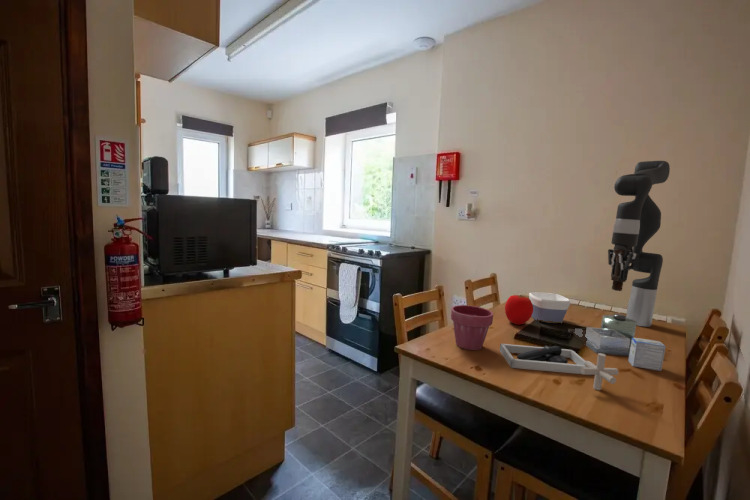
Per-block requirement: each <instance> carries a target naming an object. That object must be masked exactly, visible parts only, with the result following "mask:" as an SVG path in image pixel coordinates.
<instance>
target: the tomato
mask: <svg viewBox="0 0 750 500" xmlns="http://www.w3.org/2000/svg"><path fill="white" fill-rule="evenodd" d="M504 312H505V316H506V318H507V320H508V322H511V323H512V324H514V325H518V326H520V325H523V324H526V323H527V322H528V321H529V320H530V319H531V318H532V314H533V304H532V302H531V300H530V298H528V297H527V296H525V295H522V294H520V295H517V294H513V295H510V296H509V297H508V298H507V300H506V302H505V305H504Z"/></svg>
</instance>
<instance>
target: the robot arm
mask: <svg viewBox="0 0 750 500" xmlns="http://www.w3.org/2000/svg"><path fill="white" fill-rule="evenodd" d="M669 176H670V164H669V162H668V161H665V160H651V161H650V160H647V161H646V160H645V161H639V162H637V163H636V164H635V167H634V173H629V174H623V175H621V176H620V177H618V178H617V179H616V181H615V183H614V192H615V193H616V194H617V195H619V196H625V197H628V196H629V197H634V199H633V200H631V201H627V202H621V203H618V205H617V211H616V214H615V215H616V216H615V220H614V225H613V230H612V235H611V236H612V238H611V244H612V245H614V247H613V249H612V248H609V249H608V250H607V253H608V254H607V260H608V262H607V263H608V265H609V266H610V267H611V272H610V278H611V277H612V275H614V273H615V265H616V255H617V254H616V253H614V250H615V249H620V250H624V254H621V252H620V254H618V255H619V263H620V264H621V270H620V276H619V280H623V281H627V279H628V274H629V271H631V270H633V271H634V272H638V273H645V274H649V276H647V277H643V278H637V279H636V278H635V279H633V281H632V283H631V290H630V297H629V300H628V303H627V307H626V315H625V316H626V318H629V319H631V320H634V321H636V322H637V323H636V326H638V327H645V328H650V327H652V323H653V318H654V310H655V305H656V298H657V292H658V286H659V281H660V276H661V271H662V267H663V263H664V262H663V261H664V258H663V255H662V254H661V253H660V254H659V253H652V252H645V251H644V250H643V248H644V246H645V245H646V244H647V242H648V241H649V240H650V239H651V238H652V237H654V236H655V234H656V233H657V232H658V231H659V230H660V228H661V224H662V212H661V209H660V207H659V206H658V204H657V203H655V201H654V200H653V199H652V198H651V196H650V194H649V193H650V191H651V189H652V188H653V186H654V185H658V184H664V183H665V182H666V181H668V178H669ZM624 264H625V266H624Z"/></svg>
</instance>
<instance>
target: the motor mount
mask: <svg viewBox="0 0 750 500" xmlns="http://www.w3.org/2000/svg"><path fill="white" fill-rule="evenodd" d="M636 323H637V322H636V321H634V320H631V319H629V318H626V315H623V314H619V313H614V314H604V315H602V318H601V325H600V327H592V326H591V327H589V326H587V327H586V334H585V337H586V338H587V341H586V345H585V346H586V347H588V348H589V349H590V350H591V351H592V352H594V353H595V354H598V353H602V354H605V355H612V356H613V355H615V356H625V357H627V356H628V357H629V353H630V347H631V341H632V338H635V334H636V330H637V329H636V328H637V325H636ZM574 328H575V327H574ZM582 329H583V328H575V332H574V333H575V334H576V335H578V336H579V337H582V336H583V334H582V332H583V330H582Z"/></svg>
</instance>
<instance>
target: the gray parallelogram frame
mask: <svg viewBox="0 0 750 500" xmlns="http://www.w3.org/2000/svg"><path fill="white" fill-rule="evenodd" d="M540 348H544V346H543V347H542V346H531V345H520V344H509V343H500V344H499V352H500V354H501V355H502V357H503V359H504V360H505V361H506V362H507V364H508V365H509V366H510V368H512V369H523V370H530V371H531V370H532V371H533V370H534V371H544V372H554V373H555V372H557V373H566V374H575V375H576V374H577V375H583V374H582V373H581V371H580V369H581V368H582V367H583V368H587V367H586V366H585V365H584V363H585V361H586V360H585V359H584V358H583V357H581V356H580V355H579V354H578V353H576V351H574V350H573V349H566V348H561V350H562V353H561V354H560V355H562V356H564V357H565V358H566V359H568V358H569V359H570V360H571V361H573V362H574V364H573V363H555V362H546V361H533V360H522V359H518V358H514V357H513V355H512V354H522V353H525V352H528V351H531V350H535V349H540ZM511 353H512V354H511ZM585 375H586V376H589V375H588V374H585Z"/></svg>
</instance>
